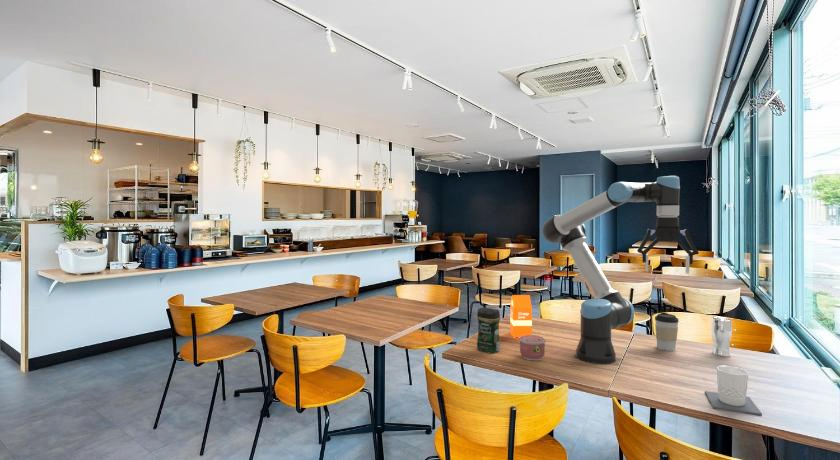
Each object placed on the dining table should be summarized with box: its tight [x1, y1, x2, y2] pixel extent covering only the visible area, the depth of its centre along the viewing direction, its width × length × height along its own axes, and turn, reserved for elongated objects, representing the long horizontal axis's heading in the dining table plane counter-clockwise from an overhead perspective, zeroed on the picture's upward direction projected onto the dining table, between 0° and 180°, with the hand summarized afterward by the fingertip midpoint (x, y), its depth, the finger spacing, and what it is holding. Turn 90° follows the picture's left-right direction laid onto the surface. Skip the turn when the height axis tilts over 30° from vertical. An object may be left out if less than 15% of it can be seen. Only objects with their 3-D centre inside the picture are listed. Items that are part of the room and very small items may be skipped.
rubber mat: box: [704, 390, 763, 416], centre depth 132 cm, size 12×12×1 cm
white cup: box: [716, 365, 749, 406], centre depth 132 cm, size 8×8×10 cm
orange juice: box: [509, 294, 533, 339], centre depth 205 cm, size 8×9×20 cm
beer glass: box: [711, 316, 733, 358], centre depth 176 cm, size 7×7×15 cm
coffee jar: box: [476, 306, 501, 354], centre depth 184 cm, size 10×8×19 cm
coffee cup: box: [654, 312, 680, 352], centre depth 184 cm, size 9×9×15 cm
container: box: [518, 334, 546, 361], centre depth 175 cm, size 10×10×8 cm
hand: (666, 272), depth 162 cm, fingers open, 13 cm apart
